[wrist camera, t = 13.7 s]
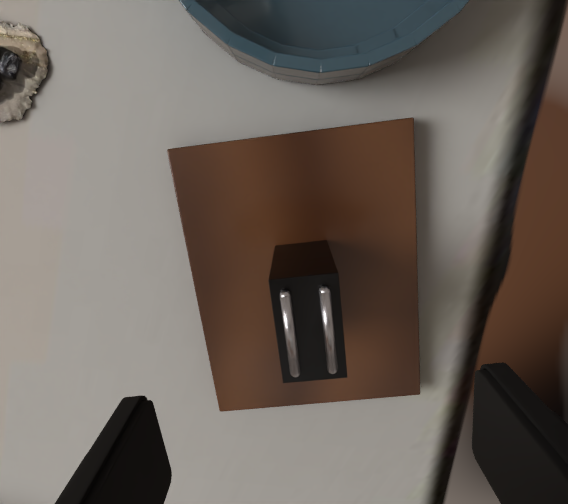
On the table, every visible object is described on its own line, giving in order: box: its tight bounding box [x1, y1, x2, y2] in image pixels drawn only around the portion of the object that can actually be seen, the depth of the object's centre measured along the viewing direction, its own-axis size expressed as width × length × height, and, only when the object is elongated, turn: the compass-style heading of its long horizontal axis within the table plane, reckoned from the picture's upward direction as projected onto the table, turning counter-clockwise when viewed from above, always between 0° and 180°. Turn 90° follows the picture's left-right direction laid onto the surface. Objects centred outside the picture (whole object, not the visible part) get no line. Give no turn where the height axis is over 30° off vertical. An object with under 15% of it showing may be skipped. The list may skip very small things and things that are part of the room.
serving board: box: [167, 118, 420, 411], centre depth 24 cm, size 14×18×1 cm
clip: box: [268, 240, 348, 383], centre depth 20 cm, size 3×6×6 cm, turn 7°
